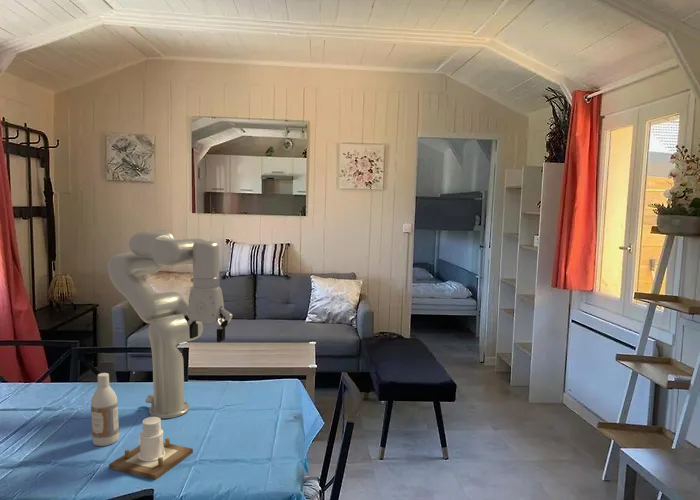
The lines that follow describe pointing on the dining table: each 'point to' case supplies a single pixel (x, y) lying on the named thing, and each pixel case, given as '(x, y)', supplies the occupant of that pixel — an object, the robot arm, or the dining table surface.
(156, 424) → the downlight
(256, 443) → the dining table surface
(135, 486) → the dining table surface
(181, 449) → the pin board
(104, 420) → the bath foam
